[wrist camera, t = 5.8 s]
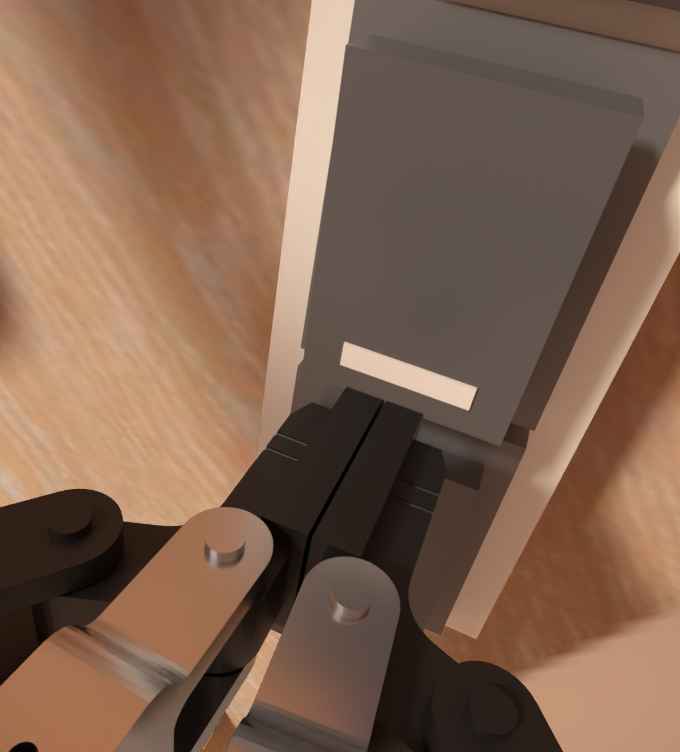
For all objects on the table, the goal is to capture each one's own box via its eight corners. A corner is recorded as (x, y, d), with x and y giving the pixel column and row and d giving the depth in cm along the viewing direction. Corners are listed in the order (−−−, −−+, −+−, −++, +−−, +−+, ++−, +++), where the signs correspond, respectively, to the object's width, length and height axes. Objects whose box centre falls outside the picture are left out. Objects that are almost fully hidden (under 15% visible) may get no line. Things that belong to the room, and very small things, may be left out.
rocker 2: (318, 403, 17) (298, 423, 16) (484, 465, 16) (478, 492, 15) (270, 591, 20) (250, 621, 19) (410, 653, 19) (399, 690, 18)
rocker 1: (373, 34, 11) (344, 44, 10) (642, 98, 10) (643, 118, 9) (324, 343, 16) (300, 375, 14) (509, 408, 15) (499, 448, 13)
